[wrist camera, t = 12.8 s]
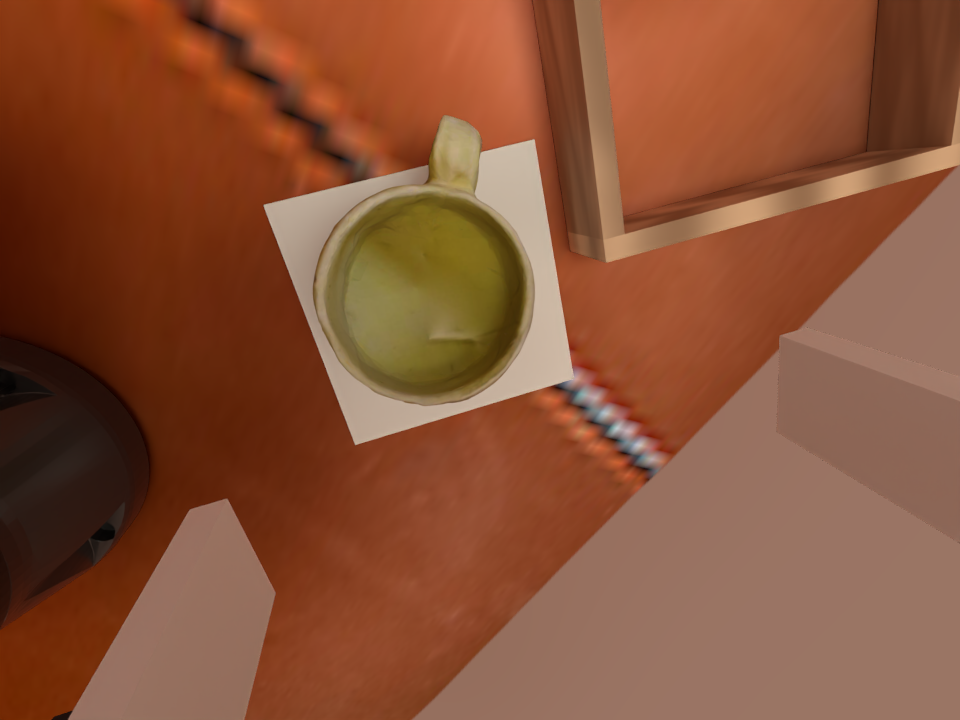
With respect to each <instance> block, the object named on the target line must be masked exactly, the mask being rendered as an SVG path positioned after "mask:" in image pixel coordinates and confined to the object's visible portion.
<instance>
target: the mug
mask: <svg viewBox="0 0 960 720" xmlns="http://www.w3.org/2000/svg"><path fill="white" fill-rule="evenodd" d="M481 148H482V139H481V136H480V134H479V132H478V131H477V130H476V129H475V128H474V127H473V126H472V125H471V124H469V123H468V122H466V121H463V120H461V119H458V118H455V117H452V116H448V115H444V116H443V117H442V119H441V121H440V124H439V126H438V130H437V133H436V136H435V139H434V141H433V145H432V150H431V154H430V157H429V163H428V168H429V176H428V179H427V181H426V182H425V183H424V184H422V185H416V184H411V185H402V186H396V187H391V188H388V189H385V190H382V191H380V192H378V193H376V194H374V195H372V196H370V197H368V198H366V199H364V200H363V201H361V202H360V203H358V204H357V205H356V206H355V207H353V208H352V209H351V210H350V211H349V212H348V213H347V214H346V215H345V216H344V217H343V218H342V219H341V220H340V221H339V222H338V223H337V224H336V225H335V226H334V228H333V230H332V231H331V233H330V235H329V237H328V239H327V240H326V242H325V244H324V246H323V248H322V250H321V253H320V256H319V259H318V262H317V266H316V270H315V275H314V282H313V301H314V306H315V310H316V314H317V318H318V321H319V323H320V325H321V327H322V331H323V332H324V334H325V336H326V338H327V340H328V342H329V344H330V346H331V347H332V349H333V351H334V353H335V355H336V357H337V359H338V361H339V362H340V363H341V364H342V365H343V367H344V368H345V369H346V370H347V371H348V372H349V373H350V374H351V375H352V376H353V377H354V378H355V379H356V380H358V381H359V382H361V383H362V384H364V385H365V386H367V387H369V388H370V389H371V390H372V391H374V392H375V393H377V394H379V395H382V396H385V397H388V398H391V399H394V400H398V401H403V402H405V403H410V404H419V405H422V406H432V405H441V404H446V403H457V402H461V401H464V400H468V399H470V398H472V397H474V396H475V395H477V394H479V393H481V392H482V391H484V390H485V389H487V388H488V387H490V386H491V385H493V384H494V383H495V382H496V381H497V380H498V379H499V378H500V377H501V376H502V375H503V374H504V373H505V372H506V371H507V369H508V368H509V367H510V365H511V364H512V363H513V361H514V360H515V359H516V357H517V356H518V354H519V353H520V351H521V349H522V346H523V344H524V342H525V340H526V338H527V335H528V333H529V330H530V327H531V323H532V318H533V309H534V301H535V284H534V275H533V270H532V266H531V263H530V260H529V258H528V255H527V253H526V250H525V248H524V246H523V244H522V242H521V240H520V238H519V236H518V234H517V232H516V231H515V229H514V228H513V227H512V226H511V225H510V223H509V222H508V221H507V220H506V219H505V218H504V217H503V216H502V215H501V214H499V213H498V212H497V211H496V210H494V209H493V208H492V207H490V206H489V205H487V204H485V203H483V202H482V201H480V200H479V199H477V197H476V195H475V190H476V186H477V181H478V174H479V159H480V154H481Z"/></svg>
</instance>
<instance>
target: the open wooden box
mask: <svg viewBox="0 0 960 720" xmlns="http://www.w3.org/2000/svg"><path fill="white" fill-rule="evenodd" d="M532 1H533V8H534V14H535V21H536V28H537V34H538V41H539V48H540V54H541V61H542V67H543V74H544V81H545V87H546V94H547V101H548V107H549V114H550V120H551V127H552V134H553V140H554V147H555V153H556V160H557V167H558V173H559V180H560V187H561V193H562V200H563V206H564V213H565V220H566V226H567V233H568V240H569V246H570V251H571V252H575V253H578V254H581V255H584V256H587V257H590V258H593V259H596V260H599V261H602V262H606V263H607V262H611V261H614V260H618V259H621V258H625V257H629V256H632V255H636V254H639V253H643V252H647V251H650V250H654V249H657V248H661V247H665V246H668V245H672V244H675V243H679V242H683V241H686V240H690V239H694V238H697V237H701V236H704V235H708V234H712V233H715V232H719V231H722V230H726V229H730V228H733V227H737V226H740V225H744V224H748V223H751V222H755V221H758V220H762V219H766V218H769V217H773V216H776V215H780V214H784V213H787V212H791V211H794V210H798V209H802V208H805V207H809V206H813V205H816V204H820V203H823V202H827V201H831V200H834V199H838V198H841V197H845V196H849V195H852V194H856V193H859V192H863V191H867V190H870V189H874V188H877V187H881V186H885V185H888V184H892V183H895V182H899V181H903V180H906V179H910V178H913V177H917V176H921V175H924V174H928V173H932V172H935V171H939V170H942V169H946V168H950V167H953V166H957V165H960V0H879V6H878V18H877V31H876V43H875V55H874V68H873V80H872V92H871V105H870V117H869V129H868V142H867V152H864V153H860V154H857V155H853V156H849V157H845V158H842V159H838V160H834V161H831V162H827V163H823V164H819V165H816V166H812V167H808V168H804V169H801V170H797V171H793V172H789V173H786V174H782V175H778V176H774V177H771V178H767V179H763V180H759V181H756V182H752V183H748V184H744V185H741V186H737V187H733V188H729V189H726V190H722V191H718V192H714V193H711V194H707V195H703V196H699V197H696V198H692V199H688V200H685V201H681V202H677V203H673V204H670V205H666V206H662V207H658V208H655V209H651V210H647V211H643V212H640V213H636V214H632V215H628V216H625V217H623V212H622V203H621V193H620V184H619V174H618V165H617V155H616V146H615V136H614V127H613V117H612V108H611V98H610V89H609V79H608V70H607V61H606V51H605V42H604V32H603V23H602V13H601V4H600V0H532Z"/></svg>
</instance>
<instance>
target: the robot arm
mask: <svg viewBox="0 0 960 720" xmlns="http://www.w3.org/2000/svg"><path fill="white" fill-rule="evenodd" d="M777 433H779V434H781V435H782V436H784V437H785V438H787V439H789V440H790V441H792V442H794V443H795V444H797V445H799V446H800V447H802V448H804V449H805V450H807V451H809V452H810V453H812V454H813V455H815V456H817V457H819V458H820V459H822V460H823V461H825V462H827V463H828V464H830V465H832V466H833V467H835V468H836V469H838V470H840V471H841V472H843V473H845V474H846V475H848V476H850V477H851V478H853V479H855V480H857V481H858V482H860V483H861V484H863V485H865V486H866V487H868V488H869V489H871V490H873V491H874V492H876V493H878V494H879V495H881V496H883V497H884V498H886V499H888V500H889V501H891V502H892V503H894V504H896V505H897V506H899V507H901V508H903V509H904V510H906V511H907V512H909V513H911V514H912V515H914V516H916V517H917V518H919V519H921V520H922V521H924V522H925V523H927V524H929V525H930V526H932V527H934V528H935V529H937V530H938V531H940V532H942V533H943V534H945V535H947V536H949V537H950V538H952V539H953V540H955V541H957V542H958V543H960V376H957V375H954V374H951V373H948V372H945V371H942V370H939V369H935V368H932V367H929V366H926V365H923V364H920V363H917V362H914V361H911V360H907V359H904V358H901V357H898V356H895V355H892V354H889V353H886V352H883V351H879V350H876V349H873V348H870V347H867V346H864V345H861V344H858V343H854V342H851V341H848V340H845V339H842V338H839V337H836V336H833V335H830V334H827V333H824V332H820V331H817V330H814V329H811V328H808V327H807V328H804V329H800V330H797V331H794V332H790V333H787V334H783V335H780V344H779V375H778V405H777ZM148 483H149V462H148V455H147V451H146V447H145V444H144V441H143V438H142V436H141V434H140V431H139V430H138V428H137V426H136V424H135V422H134V421H133V419H132V417H131V416H130V414H129V413H128V412H127V410H126V409H125V408H124V406H123V405H122V404H121V403H120V402H119V400H118V399H117V398H116V397H115V396H114V395H113V394H112V393H111V392H110V391H109V390H108V389H107V388H106V387H104V386H103V385H102V384H101V383H100V382H99V381H97V380H96V379H95V378H93V377H92V376H91V375H89V374H88V373H86V372H85V371H83V370H82V369H81V368H79V367H77V366H76V365H74V364H72V363H71V362H69V361H67V360H65V359H63V358H61V357H59V356H57V355H55V354H53V353H50V352H48V351H46V350H43V349H41V348H38V347H36V346H33V345H30V344H27V343H24V342H21V341H17V340H13V339H9V338H5V337H0V630H1V629H2V628H4V627H5V626H7V625H8V624H10V623H11V622H13V621H14V620H16V619H17V618H18V617H20V616H21V615H23V614H24V613H26V612H27V611H29V610H30V609H32V608H33V607H35V606H36V605H38V604H39V603H41V602H42V601H44V600H45V599H47V598H48V597H50V596H51V595H53V594H54V593H55V592H57V591H58V590H60V589H61V588H63V587H64V586H66V585H67V584H69V583H70V582H72V581H73V580H75V579H76V578H78V577H79V576H81V575H82V574H84V573H85V572H87V571H88V570H89V569H91V568H92V567H93V566H95V565H96V564H97V563H98V562H99V561H100V560H101V559H102V558H104V557H105V556H106V555H107V554H108V553H109V552H110V551H111V550H112V548H113V547H114V546H115V545H116V544H117V542H118V541H119V540H120V538H121V537H122V536H123V534H124V533H125V531H126V530H127V529H128V527H129V526H130V525H131V523H132V522H133V521H134V519H135V518H136V516H137V515H138V513H139V511H140V509H141V507H142V505H143V502H144V500H145V497H146V493H147V490H148ZM274 597H275V591H274V589H273V587H272V585H271V583H270V581H269V579H268V577H267V575H266V573H265V571H264V569H263V567H262V565H261V563H260V561H259V559H258V558H257V556H256V554H255V552H254V550H253V548H252V546H251V544H250V542H249V540H248V538H247V536H246V534H245V532H244V530H243V528H242V526H241V524H240V522H239V520H238V519H237V517H236V515H235V513H234V511H233V509H232V507H231V505H230V503H229V501H228V499H224V500H220V501H217V502H213V503H210V504H207V505H203V506H200V507H196V508H193V509H190V510H189V512H188V513H187V515H186V517H185V519H184V520H183V522H182V524H181V525H180V527H179V529H178V531H177V532H176V534H175V536H174V538H173V539H172V541H171V543H170V544H169V546H168V548H167V550H166V551H165V553H164V555H163V556H162V558H161V560H160V562H159V563H158V565H157V567H156V569H155V570H154V572H153V574H152V575H151V577H150V579H149V581H148V582H147V584H146V586H145V588H144V589H143V591H142V593H141V594H140V596H139V598H138V600H137V601H136V603H135V605H134V606H133V608H132V610H131V612H130V613H129V615H128V617H127V619H126V620H125V622H124V624H123V625H122V627H121V629H120V631H119V632H118V634H117V636H116V638H115V639H114V641H113V643H112V644H111V646H110V648H109V650H108V651H107V653H106V655H105V657H104V658H103V660H102V662H101V663H100V665H99V667H98V669H97V670H96V672H95V674H94V675H93V677H92V679H91V681H90V682H89V684H88V686H87V688H86V689H85V691H84V693H83V694H82V696H81V698H80V700H79V701H78V703H77V705H76V707H75V708H74V710H73V711H70V712H67V713H64V714H61V715H58V716H55V717H54V718H53V719H52V720H244V719H245V714H246V710H247V706H248V702H249V698H250V694H251V690H252V686H253V682H254V678H255V674H256V670H257V666H258V662H259V658H260V654H261V650H262V646H263V642H264V638H265V634H266V630H267V626H268V622H269V618H270V614H271V610H272V606H273V601H274Z"/></svg>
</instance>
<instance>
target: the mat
mask: <svg viewBox="0 0 960 720" xmlns="http://www.w3.org/2000/svg"><path fill="white" fill-rule="evenodd" d="M428 176H429V168H428V165H426V166H422V167H418V168H414V169H410V170H405V171H401V172H397V173H393V174H389V175H385V176H381V177H377V178H372V179H368V180H364V181H360V182H356V183H352V184H348V185H344V186H339V187H335V188H331V189H327V190H323V191H319V192H315V193H311V194H306V195H302V196H298V197H294V198H290V199H286V200H282V201H278V202H273V203H269V204H265V205H263V206H264V209H265V211H266V214H267V217H268V219H269V222H270V224H271V227H272V230H273V232H274V235H275V237H276V240H277V243H278V245H279V248H280V250H281V253H282V256H283V258H284V261H285V263H286V266H287V269H288V271H289V274H290V276H291V279H292V282H293V284H294V287H295V290H296V292H297V295H298V297H299V300H300V303H301V305H302V308H303V310H304V313H305V316H306V318H307V321H308V323H309V326H310V329H311V331H312V334H313V336H314V339H315V342H316V344H317V347H318V349H319V352H320V355H321V357H322V360H323V362H324V365H325V368H326V370H327V373H328V375H329V378H330V381H331V383H332V386H333V388H334V391H335V394H336V396H337V399H338V401H339V404H340V407H341V409H342V412H343V415H344V417H345V420H346V422H347V425H348V428H349V430H350V433H351V435H352V438H353V441H354V443H355V445H357V444H360V443H364V442H367V441H370V440H373V439H377V438H380V437H383V436H387V435H390V434H393V433H396V432H400V431H403V430H406V429H410V428H413V427H416V426H420V425H423V424H426V423H429V422H433V421H436V420H439V419H443V418H446V417H449V416H452V415H456V414H459V413H462V412H466V411H469V410H472V409H476V408H479V407H482V406H485V405H489V404H492V403H495V402H499V401H502V400H505V399H508V398H512V397H515V396H518V395H522V394H525V393H528V392H532V391H535V390H538V389H541V388H545V387H548V386H551V385H555V384H558V383H561V382H564V381H568V380H571V379H574V376H573V370H572V364H571V358H570V352H569V346H568V340H567V334H566V327H565V321H564V315H563V309H562V303H561V297H560V291H559V285H558V279H557V273H556V267H555V261H554V255H553V249H552V243H551V236H550V230H549V224H548V218H547V212H546V206H545V200H544V194H543V188H542V182H541V176H540V170H539V164H538V158H537V152H536V146H535V139H533V140H529V141H525V142H521V143H517V144H513V145H509V146H504V147H500V148H496V149H492V150H488V151H484V152H481V154H480V159H479V174H478V181H477V186H476V190H475V195H476V197H477V199H479V200H480V201H482V202H483V203H485V204H487V205H489V206H490V207H492V208H493V209H494V210H496V211H497V212H498V213H499V214H501V215H502V216H503V217H504V218H505V219H506V220H507V221H508V222H509V223H510V225H511V226H512V227H513V228H514V229H515V231H516V232H517V234H518V236H519V238H520V240H521V242H522V244H523V246H524V248H525V250H526V253H527V255H528V258H529V260H530V263H531V266H532V270H533V275H534V284H535V301H534V309H533V318H532V323H531V327H530V330H529V333H528V335H527V338H526V340H525V342H524V344H523V346H522V349H521V351H520V353H519V354H518V356H517V357H516V359H515V360H514V361H513V363H512V364H511V365H510V367H509V368H508V369H507V371H506V372H505V373H504V374H503V375H502V376H501V377H500V378H499V379H498V380H497V381H496V382H495V383H494V384H493V385H491V386H490V387H488V388H487V389H485V390H484V391H482V392H481V393H479V394H477V395H475V396H474V397H472V398H470V399H468V400H464V401H461V402H457V403H446V404H441V405H432V406H422V405H419V404H410V403H405V402H403V401H398V400H394V399H391V398H388V397H385V396H382V395H379V394H377V393H375V392H374V391H372V390H371V389H370V388H369V387H367V386H365V385H364V384H362V383H361V382H359V381H358V380H356V379H355V378H354V377H353V376H352V375H351V374H350V373H349V372H348V371H347V370H346V369H345V368H344V367H343V365H342V364H341V363H340V362H339V361H338V359H337V357H336V355H335V353H334V351H333V349H332V347H331V346H330V344H329V342H328V340H327V338H326V336H325V334H324V332H323V331H322V327H321V325H320V323H319V321H318V318H317V314H316V310H315V306H314V301H313V282H314V275H315V270H316V266H317V262H318V259H319V256H320V253H321V250H322V248H323V246H324V244H325V242H326V240H327V239H328V237H329V235H330V233H331V231H332V230H333V228H334V226H335V225H336V224H337V223H338V222H339V221H340V220H341V219H342V218H343V217H344V216H345V215H346V214H347V213H348V212H349V211H350V210H351V209H352V208H353V207H355V206H356V205H357V204H358V203H360V202H361V201H363V200H364V199H366V198H368V197H370V196H372V195H374V194H376V193H378V192H380V191H382V190H385V189H388V188H391V187H396V186H402V185H411V184H416V185H422V184H424V183H425V182H426V181H427V179H428Z"/></svg>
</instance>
